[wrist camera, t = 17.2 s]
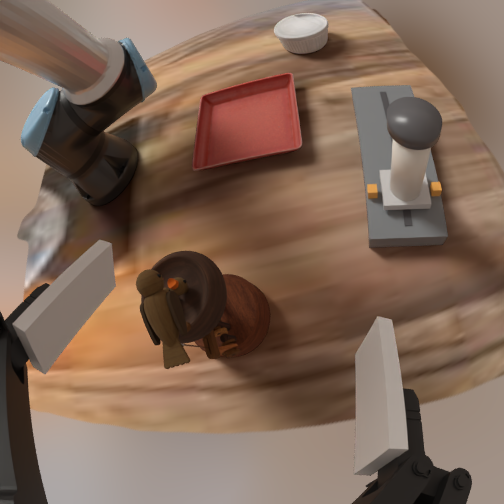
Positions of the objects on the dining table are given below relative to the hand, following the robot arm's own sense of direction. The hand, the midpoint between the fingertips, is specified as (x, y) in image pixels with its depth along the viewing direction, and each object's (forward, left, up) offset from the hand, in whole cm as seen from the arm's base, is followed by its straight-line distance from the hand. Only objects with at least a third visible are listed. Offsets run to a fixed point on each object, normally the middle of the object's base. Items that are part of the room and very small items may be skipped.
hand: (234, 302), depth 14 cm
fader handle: (-9, +19, -22) cm, 30 cm away
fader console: (-15, +22, -25) cm, 37 cm away
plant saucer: (-35, +7, -26) cm, 44 cm away
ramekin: (-50, +28, -26) cm, 63 cm away
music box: (-8, -9, -26) cm, 28 cm away
